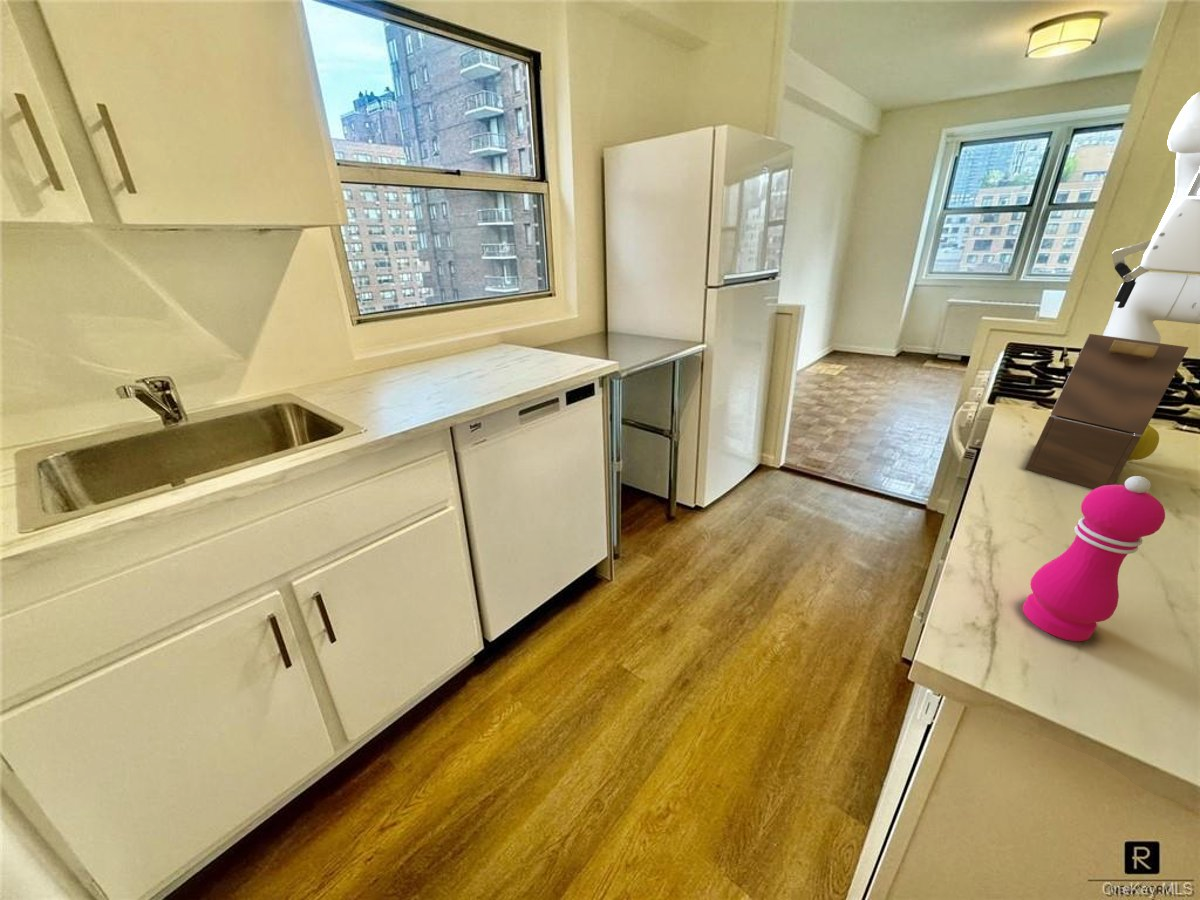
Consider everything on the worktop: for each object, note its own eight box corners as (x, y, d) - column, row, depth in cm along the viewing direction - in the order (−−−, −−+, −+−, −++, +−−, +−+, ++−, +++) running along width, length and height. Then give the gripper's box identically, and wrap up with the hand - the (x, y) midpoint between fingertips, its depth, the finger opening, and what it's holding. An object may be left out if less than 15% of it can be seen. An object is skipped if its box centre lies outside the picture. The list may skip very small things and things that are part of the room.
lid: (1089, 334, 83) (1091, 326, 79) (1187, 348, 76) (1196, 340, 72) (1050, 414, 86) (1050, 410, 82) (1141, 435, 79) (1147, 432, 74)
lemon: (1100, 457, 95) (1120, 420, 92) (1115, 452, 97) (1135, 416, 94) (1136, 470, 91) (1159, 431, 87) (1151, 464, 93) (1174, 426, 89)
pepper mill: (1002, 598, 61) (1075, 459, 52) (1061, 599, 61) (1143, 460, 52) (1048, 644, 55) (1139, 495, 45) (1113, 646, 54) (1218, 497, 45)
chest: (1037, 447, 99) (1060, 398, 94) (1114, 467, 92) (1144, 415, 87) (1024, 469, 91) (1049, 416, 86) (1108, 493, 83) (1140, 437, 79)
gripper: (1324, 188, 65) (1245, 317, 73) (1143, 190, 76) (1092, 301, 84) (1334, 186, 60) (1249, 324, 68) (1140, 188, 72) (1086, 306, 80)
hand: (1162, 311), depth 76 cm, fingers open, 9 cm apart
